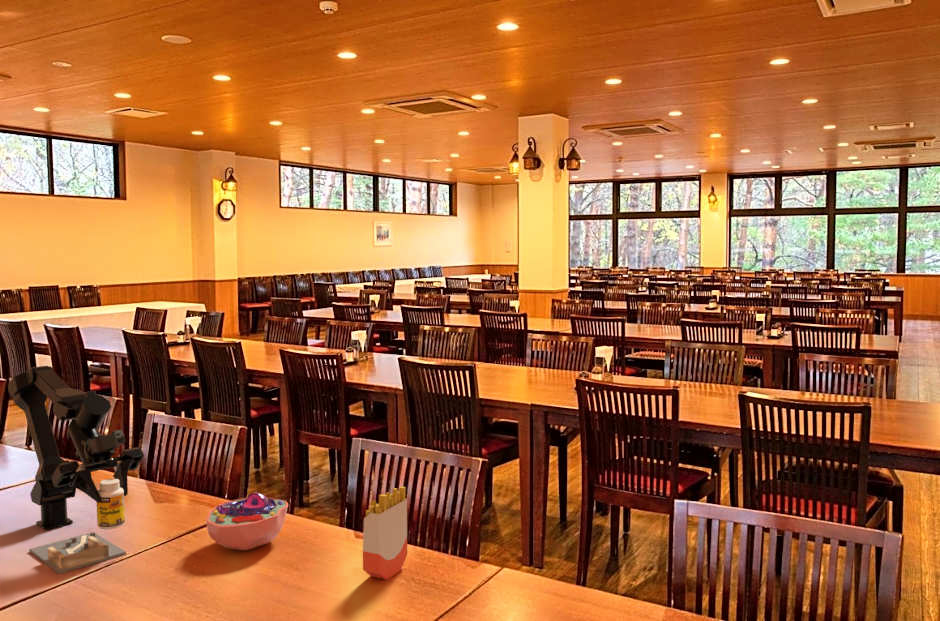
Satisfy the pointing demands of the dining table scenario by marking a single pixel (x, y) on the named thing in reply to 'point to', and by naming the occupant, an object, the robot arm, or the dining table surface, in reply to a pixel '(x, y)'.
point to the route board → (74, 550)
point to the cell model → (247, 521)
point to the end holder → (79, 554)
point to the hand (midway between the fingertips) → (113, 498)
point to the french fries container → (385, 535)
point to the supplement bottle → (110, 505)
